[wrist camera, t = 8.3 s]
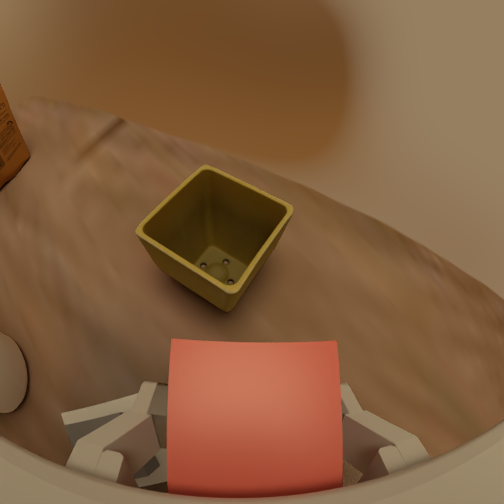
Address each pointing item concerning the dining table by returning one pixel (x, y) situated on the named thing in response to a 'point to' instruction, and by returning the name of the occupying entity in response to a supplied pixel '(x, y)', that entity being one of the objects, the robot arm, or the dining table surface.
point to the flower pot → (214, 234)
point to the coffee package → (10, 143)
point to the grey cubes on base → (100, 414)
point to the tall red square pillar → (253, 419)
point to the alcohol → (11, 375)
